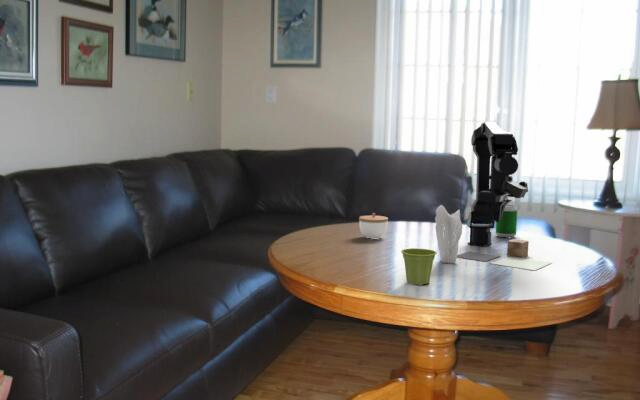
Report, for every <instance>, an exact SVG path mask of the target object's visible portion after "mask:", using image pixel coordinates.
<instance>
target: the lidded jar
mask: <svg viewBox="0 0 640 400" xmlns="http://www.w3.org/2000/svg"><path fill="white" fill-rule="evenodd" d="M358 221H359V223H358V224H359V230H360V233H361V235H362V236H363V237H364V236H365V237H370V238H380V237H381V238H382V237H384V236H385V234H386V232H387V230H388V225H389V224H388V223H389V217H387V216H382V215H376V213H375V212H372V214H371V215H370V214H369V215H360V216H359V217H358ZM365 237H364V238H365Z"/></svg>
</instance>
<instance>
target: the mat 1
mask: <svg viewBox="0 0 640 400" xmlns="http://www.w3.org/2000/svg"><path fill="white" fill-rule="evenodd" d="M500 257H501V255H496V254H491V253H482V252H477V251H471V250H470V251H466V252H463V253H460V254H459V253H458V254H457V259H459V258H460V259H465V260H472V261H477V262H482V263H484V262H485V263H486V262H489V261H491V260H494V259H497V258H500Z"/></svg>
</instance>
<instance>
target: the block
mask: <svg viewBox="0 0 640 400" xmlns="http://www.w3.org/2000/svg"><path fill="white" fill-rule="evenodd" d="M529 242H530V241H529V240H524V239H516V238H511V239H510V240H507V250H506V251H507V252H506V257H509V256H511V257H517V258H525V257H527V256H529Z"/></svg>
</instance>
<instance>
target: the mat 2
mask: <svg viewBox="0 0 640 400" xmlns="http://www.w3.org/2000/svg"><path fill="white" fill-rule="evenodd" d="M552 263H553V262H550V261H542V260H537V259H536V260H535V259H529V258H525V257H523V258H519V257H512V256H506V257H504V258H500V259H499V260H496V261H495V260H494V261H493V262H490V265H495V266H502V267H508V268H514V269H520V270H525V271H526V270H527V271H532V272H534V271H537V270H540V269H543V268H545V267H547V266H549V265H551V264H552Z"/></svg>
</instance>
